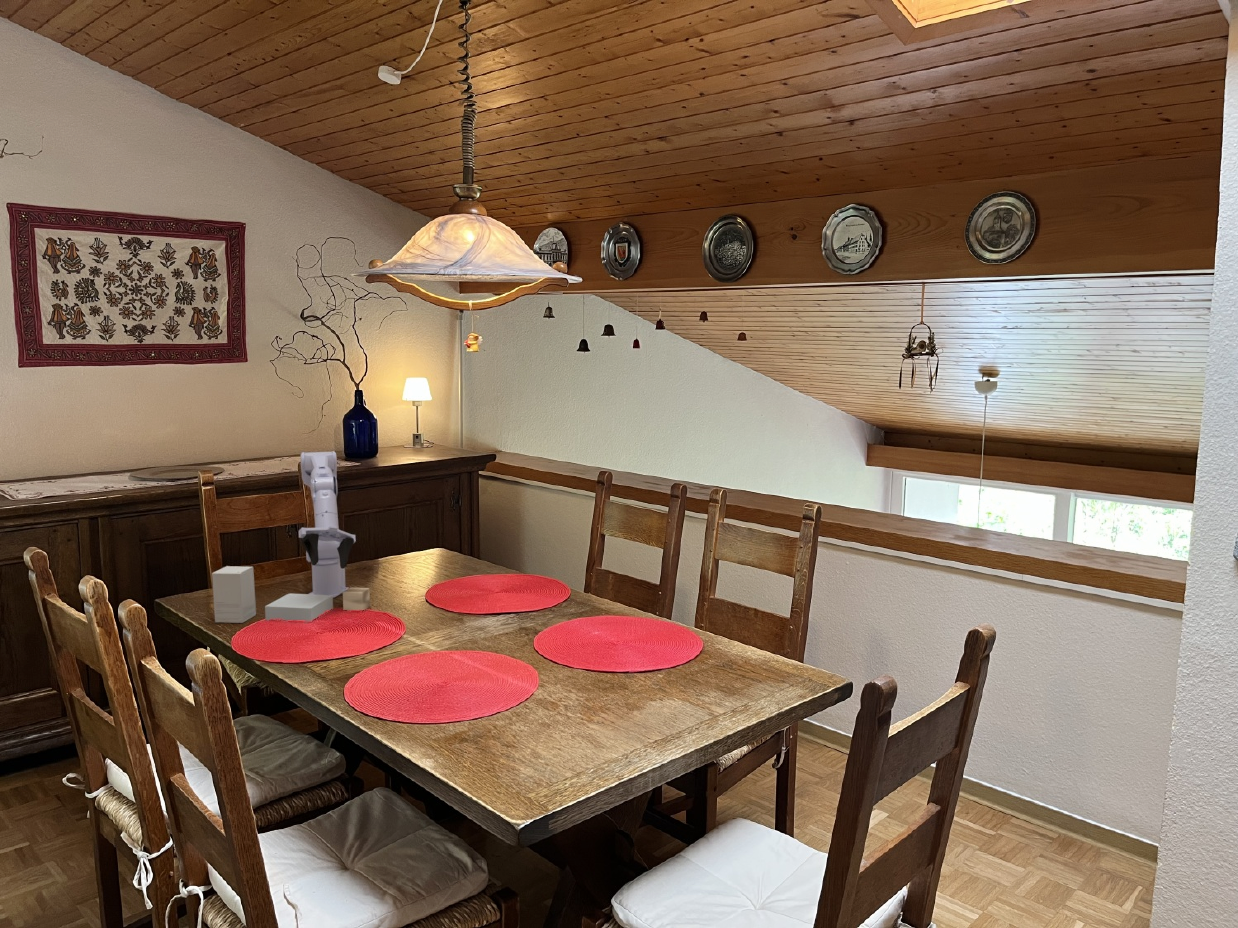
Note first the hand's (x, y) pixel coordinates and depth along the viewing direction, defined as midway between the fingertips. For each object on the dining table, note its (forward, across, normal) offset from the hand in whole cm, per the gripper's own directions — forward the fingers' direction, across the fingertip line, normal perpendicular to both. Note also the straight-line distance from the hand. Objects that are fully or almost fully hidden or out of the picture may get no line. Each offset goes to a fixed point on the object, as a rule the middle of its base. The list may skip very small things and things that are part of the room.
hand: (329, 565), depth 230 cm
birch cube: (+8, +10, +7) cm, 15 cm away
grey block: (+8, -2, +13) cm, 15 cm away
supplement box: (+7, -16, +20) cm, 27 cm away
